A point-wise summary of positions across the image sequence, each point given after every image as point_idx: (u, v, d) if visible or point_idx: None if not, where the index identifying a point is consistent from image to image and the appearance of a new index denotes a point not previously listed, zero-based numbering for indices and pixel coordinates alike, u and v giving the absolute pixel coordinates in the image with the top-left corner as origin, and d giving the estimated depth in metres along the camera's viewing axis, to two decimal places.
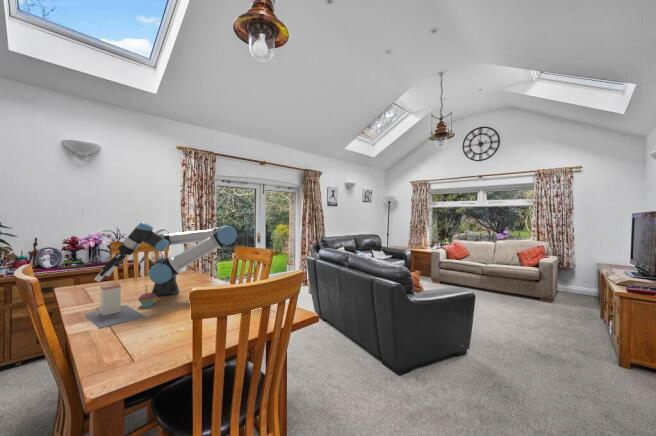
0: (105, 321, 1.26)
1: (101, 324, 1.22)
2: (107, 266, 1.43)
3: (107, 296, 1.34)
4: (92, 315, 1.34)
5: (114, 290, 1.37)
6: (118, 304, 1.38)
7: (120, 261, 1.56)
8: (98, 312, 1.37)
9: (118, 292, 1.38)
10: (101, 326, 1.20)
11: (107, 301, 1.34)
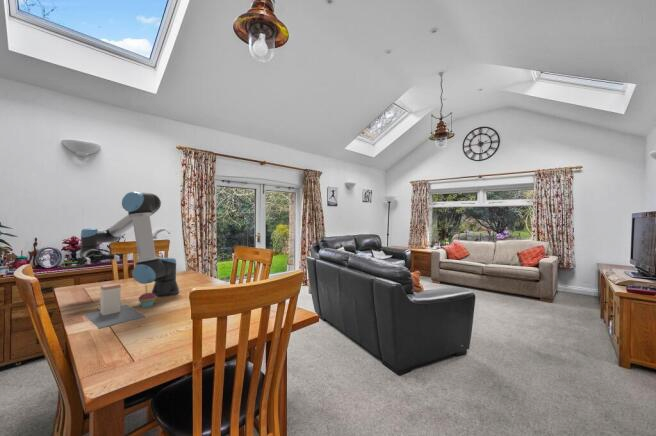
0: (105, 321, 1.26)
1: (101, 324, 1.22)
2: None
3: (107, 296, 1.34)
4: (92, 315, 1.34)
5: (114, 290, 1.37)
6: (118, 304, 1.38)
7: (108, 255, 1.54)
8: (98, 312, 1.37)
9: (118, 292, 1.38)
10: (101, 326, 1.20)
11: (107, 301, 1.34)
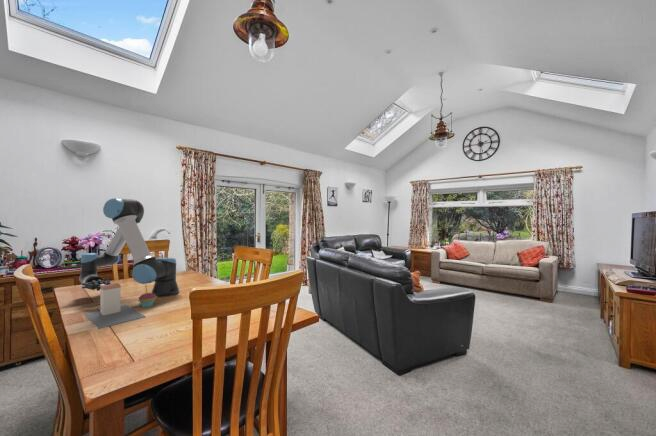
0: (105, 321, 1.26)
1: (101, 324, 1.22)
2: (91, 287, 1.45)
3: (107, 296, 1.34)
4: (92, 315, 1.34)
5: (114, 290, 1.37)
6: (118, 304, 1.38)
7: (101, 282, 1.51)
8: (98, 312, 1.37)
9: (118, 292, 1.38)
10: (101, 326, 1.20)
11: (107, 301, 1.34)
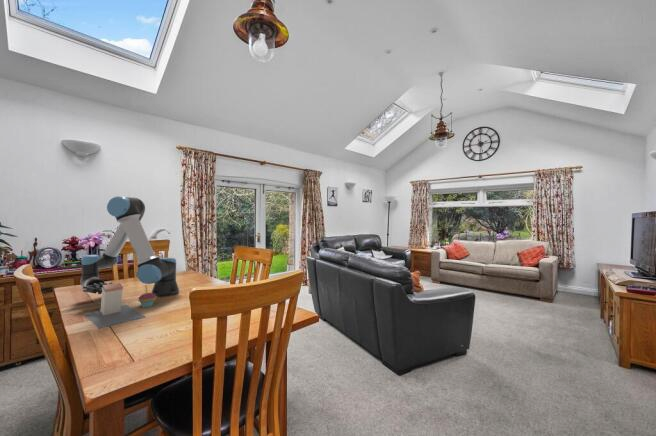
0: (105, 321, 1.26)
1: (101, 324, 1.22)
2: (92, 291, 1.39)
3: (108, 297, 1.33)
4: (92, 315, 1.34)
5: (116, 292, 1.35)
6: (119, 305, 1.38)
7: None
8: (98, 312, 1.37)
9: (120, 293, 1.37)
10: (101, 326, 1.20)
11: (108, 302, 1.33)
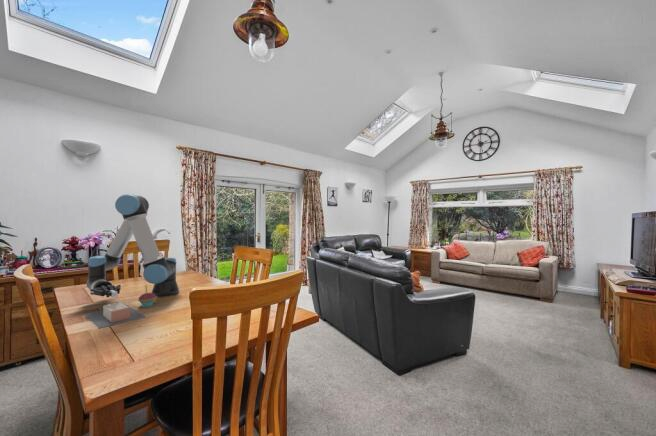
0: (105, 321, 1.26)
1: (101, 324, 1.22)
2: (100, 293, 1.34)
3: None
4: (92, 315, 1.34)
5: None
6: None
7: (111, 288, 1.40)
8: (98, 312, 1.37)
9: None
10: (101, 326, 1.20)
11: None
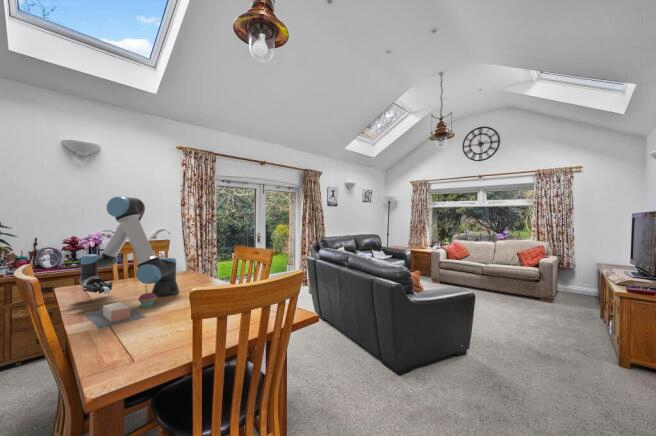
0: (105, 321, 1.26)
1: (101, 324, 1.22)
2: (92, 290, 1.40)
3: None
4: (92, 315, 1.34)
5: None
6: None
7: (103, 284, 1.46)
8: (98, 312, 1.37)
9: None
10: (101, 326, 1.20)
11: None
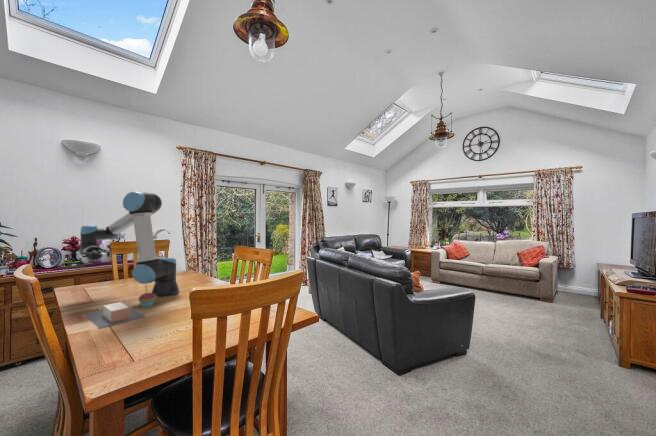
0: (105, 321, 1.26)
1: (101, 324, 1.22)
2: (91, 255, 1.46)
3: None
4: (92, 315, 1.34)
5: None
6: None
7: (101, 252, 1.51)
8: (98, 312, 1.37)
9: None
10: (101, 326, 1.20)
11: None
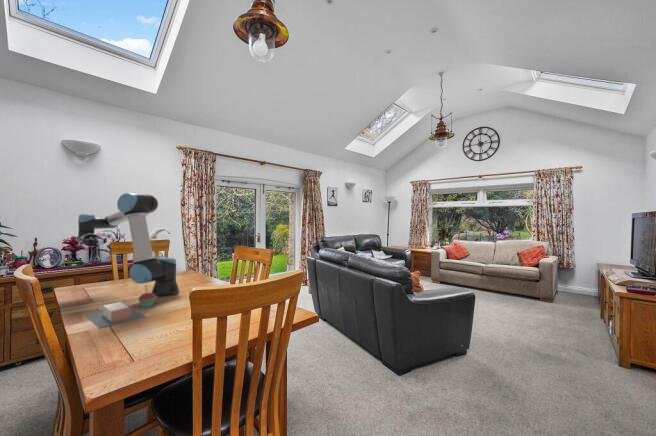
0: (105, 321, 1.26)
1: (101, 324, 1.22)
2: (87, 242, 1.52)
3: None
4: (92, 315, 1.34)
5: None
6: None
7: (98, 238, 1.58)
8: (98, 312, 1.37)
9: None
10: (101, 326, 1.20)
11: None
